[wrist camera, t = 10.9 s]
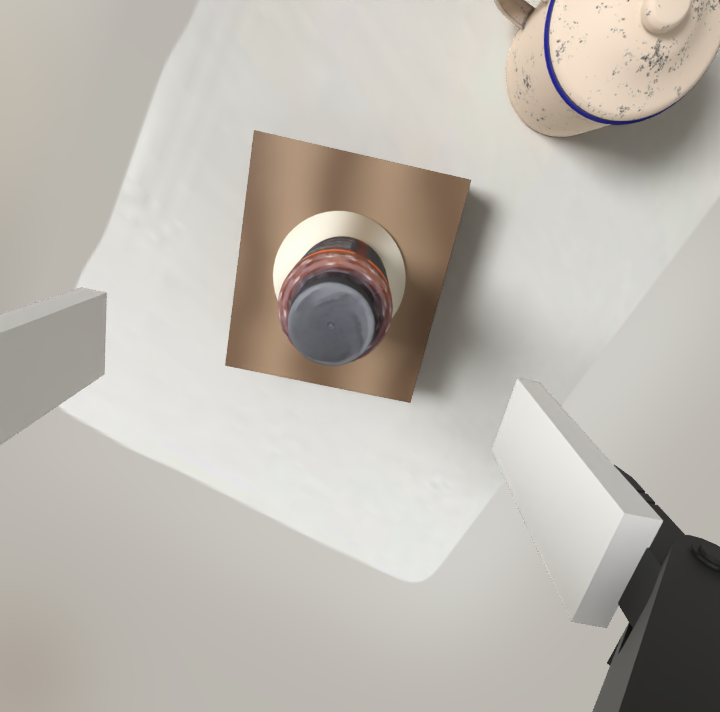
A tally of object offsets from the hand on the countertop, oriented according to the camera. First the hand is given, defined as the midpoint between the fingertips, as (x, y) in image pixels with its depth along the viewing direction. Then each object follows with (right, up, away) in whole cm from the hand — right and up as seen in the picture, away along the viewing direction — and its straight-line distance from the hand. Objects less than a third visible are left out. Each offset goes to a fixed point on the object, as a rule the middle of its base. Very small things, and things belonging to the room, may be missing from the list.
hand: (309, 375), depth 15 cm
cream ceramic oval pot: (+15, +21, +17) cm, 31 cm away
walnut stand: (0, +8, +22) cm, 23 cm away
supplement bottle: (0, +6, +17) cm, 18 cm away
